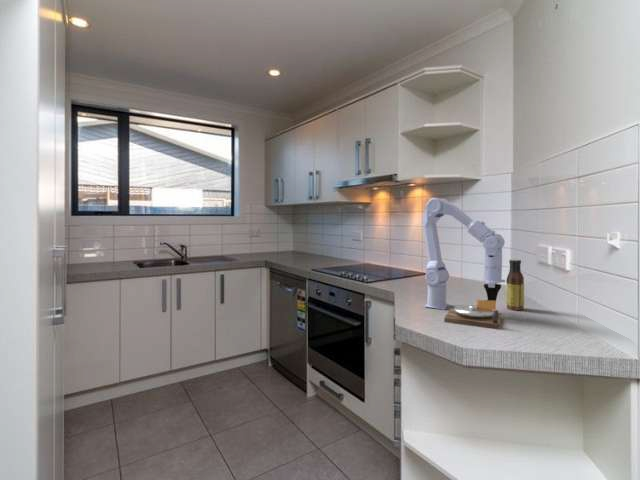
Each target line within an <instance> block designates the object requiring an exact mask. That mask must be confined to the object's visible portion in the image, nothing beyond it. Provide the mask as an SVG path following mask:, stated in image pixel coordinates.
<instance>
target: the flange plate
mask: <svg viewBox="0 0 640 480" xmlns="http://www.w3.org/2000/svg"><path fill="white" fill-rule="evenodd" d="M496 303H497V300H496V301H495V300H488V299H477V300H476V305H473V304H471V305H470V304H469V305H467V304H465V305H464V304H463V305H462V304H461V305H456V306H454V307H453V308H454V312H456V313H458V314H461V315H464V316H470V317H491V316H493V310H497V309H496V308H497V304H496Z"/></svg>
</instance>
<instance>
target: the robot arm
mask: <svg viewBox="0 0 640 480" xmlns="http://www.w3.org/2000/svg"><path fill="white" fill-rule="evenodd" d="M445 215H449V216H451V217H453V218H454V219H456V221H458V222H459V223H461V224H463V226H465V227H466V229H467V233H468V234H470V235H471V236H472V237H473V238H475V239H476V240H478V242H480V243H482V246H483V248H484V250H485V251H484V271H483V272H484V275H483V282H485V283H484V284H483V288H484V290H485V292H486V297H487V300H495V301H496V302H497V299H498V294H499V292H500V289H501V288H502V284H500V283H506V280H505V279H502V276H503V275H502V274H503V273H502V272H503V248H504V246H505V239H504V237H503V236H502V235H501V234H499V233H496V231H495V230H494V229H491V228H489V227H488V226H487V225H486V222H484V221H482V220H481V221H480V220H473V219H472V218H471V217H470V216H468V215H467V214H466V213H465V212H464V211H463V210H462V209H460V208H459V207H458V206H457V205H456V204H455V203H453V202H451V201H450V200H448V199H446V198H438V197H432V198H430V199H429V200H428V201H427V202H426V204H424V212H423V215H422V218H421V225H422V230H423V236H424V241H425V242H424V243H425V248H426V250H425V251H426V254H427V255H426V256H427V265H426V266H425V271H426V273H425V274H424V275H425V276H424V278H425V281H426V283H427V298H426V299H427V303H426V304H425V305H424V308H428V309H438V310H446V309H447V308H448V307H449V303H447V282H448V281H449V277H450V273H449V271H448V270H447V268H446V264H445V263H444V261H443V258H442V252H441V247H440V246H441V245H440V239H439V232H438V227H437V222H438V221H439V220H440V219H441V218H442V217H443V216H445Z"/></svg>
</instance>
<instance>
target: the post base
mask: <svg viewBox="0 0 640 480" xmlns="http://www.w3.org/2000/svg"><path fill="white" fill-rule="evenodd" d="M501 314H502V313H500V312H499V310H497V309H496V310H493V316H491V317H470V316H464V315H461V314H458V313H456V312H454V307H451V308H450V309H449V310H448V311H447V313H446V315H445V316H444V317H443V318H444V321H443V322H444V323H450V324H456V325H457V324H459V325H465V326H466V325H467V326H474V327H480V328H481V327H482V328H487V329H495V330H500V325H501V317H502V316H501Z"/></svg>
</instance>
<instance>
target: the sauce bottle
mask: <svg viewBox="0 0 640 480" xmlns="http://www.w3.org/2000/svg"><path fill="white" fill-rule="evenodd" d="M508 261H509V262H508V263H509V271H508V274H507V277H506V280H505V284H506V286H505V287H506V290H505V291H506V292H505V293H506V295H505V296H506V297H505V299H506V300H505V301H506V302H505V303H506V308H507V309H509V310H511V311H522V310H524V308H525V307H524V306H525V283H524V282H525V278H524V276H523V275H524V274H523V273H522V272H521V271H522V270H521V264H522V259H513V258H511V259H509V260H508Z"/></svg>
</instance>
